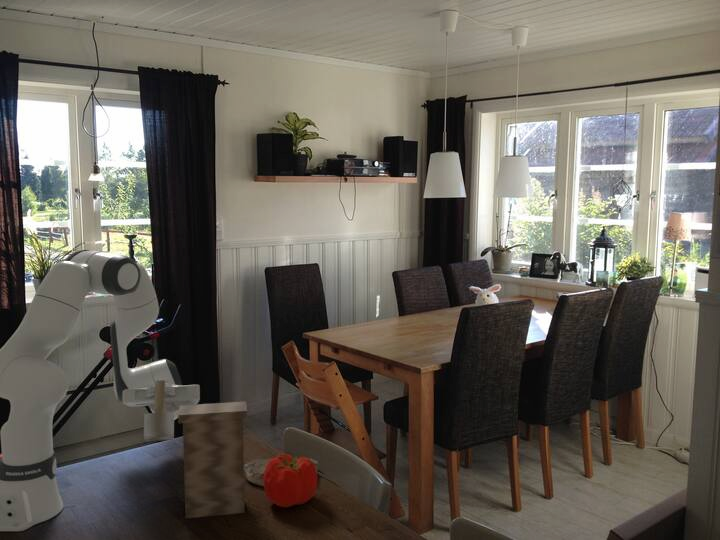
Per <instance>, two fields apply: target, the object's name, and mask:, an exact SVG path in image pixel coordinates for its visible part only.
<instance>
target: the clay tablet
mask: <svg viewBox="0 0 720 540" xmlns="http://www.w3.org/2000/svg"><path fill="white" fill-rule="evenodd" d="M292 458H293V459H294V458H295V457H292ZM271 459H272V458H265V459H264V458H258V459H254V460H250V461H249V462H247V463H244V474H245V477H246V479H247V481H248V482H250V483H252V484H255V485H258V486H259V487H264V485H263V476H264V472H265V469H266V466H267V464H268V462H269V461H270V460H271ZM298 459H299V458H296V460H298ZM309 459H310V460H311V461H312V462H313V463H314V465H315V467H316V470H317V472H318V470H319V467H318V466H319V461H318V460H316V459H313V458H309Z"/></svg>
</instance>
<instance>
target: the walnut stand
mask: <svg viewBox="0 0 720 540" xmlns="http://www.w3.org/2000/svg"><path fill="white" fill-rule="evenodd" d="M247 405H248V404H247V401H231V402H229V401H228V402H216V403H201V404H200V403H199V404H198V403H197V404H196V405H180V407H179V412H178V418H177V423H178V424H182V436H183V438H182V439H183V440H182V442H183V443H182V444H183V447H182V449H183V471H184V474H183V475H184V476H183V477H184V480H183V481H184V504H185V505H184V507H185V508H184V510H185V519H193V518H202V517H204V518H205V517H215V516H223V515H224V516H225V515H236V514H244V513H246V512H245V509H246V508H245V506H246V505H245V502H246V501H245V472H244V465H245V460H244V458H245V457H244V456H245V455H244V453H245V452H244V447H245V446H244V420H248V407H247Z"/></svg>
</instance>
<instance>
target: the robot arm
mask: <svg viewBox="0 0 720 540" xmlns="http://www.w3.org/2000/svg"><path fill="white" fill-rule="evenodd" d="M91 292H93V293H95V294H102V295H112V296H113V298H114V304H115V307H116V310H117V314H116V318H115V319H114V321H113V322H112V323H111V325H110V330H109V333H110V334H109V335H110V347H111V348H110V349H111V357H112V365H113V368H112V369H113V372H114V376H113V377H114V378H113V390H114V395H115V397H116V398H117V400H118V401H119V402H121V403H122V404H123V405H125V406H128V407H145V406H146V407H147V406H148V407H149V409H150V411H151V413H154V410H155V381H159V380H165V386H164V389H165V390H164V393H165V412H173V415H174V421H175V420H178V412H179V407H180V405H196V404H198V403H199V402H200V399H201V398H200V397H201V394H200V393H201V389H200V387H201V386H200V384H188V385H187V384H186V385H183V382H182V379H181V375H180V373H179V371H178V368H177V366H176V364H175V363H174V362H173V361H171V360H169V359H167V358H163V359H158V360H156V361H153V362H150V363H147V364H144V365H139V366H136V367H132V368H130V367H129V366H128V365H129V364H128V356H127V355H128V354H127V347H128V345H129V344H130V342H131V341H133V340H134V339H135V338H137V336H139V335H141V334H142V333H143V332H145V331H147V330H148V329H149V328H151V326H153V324H154V323H155V322H156V320H157V319H158V316H159V314H160V307H159V301H158V297H157V293H156V290H155V286H154V284H153V281H152V279H151V277H150V276H149V273H148V271H147V269H146V268H145V266H143V264H141V263H139V262H136V261H135V260H134V259H132V258H131V257H128V256H126V255H125V254H116V253H113V252H108V251H103V250H89V249H82V250H76V251H74V252H72V253H70V254H69V255H68V256H67V257H66V258H65V259H64V260H61V261H59V262H56V263H54V265H52V266H51V268H50V269H49V270H48V272H47V273H46V275H45V276H44V278H43V280H42V281H41V283H40V284H39V286H38V288H37V290H36V292H35V294H34V296H33V298H32V300H31V303H30V305H29V307H28V308H27V311H26V313H25V315H24V317H23V318H22V321H21V323H20V324H19V326H18V327H17V329H16V330H15V331H14V333H13V334H12V335H11V336H10V338H8V340H7V341H6V343H5V344H4V345H3V346H2V347H1V348H0V398H1V399H5V400H8V401H9V404H10V412H9V416H8V420H7V421H6V422H5V423H4V424H3V425H2V426H1V428H0V447H1V453H0V532H23V531H25V530H27V529H30V528H31V527H33V526H35V525H37V524H40V523H42V522H46V521H48V520H50V519H51V518H53V517H55V516H57V515H58V514H59V513H60V512H61V511H62V510H63V509H64V502H63V500H62V497H61V494H60V491H59V487H58V483H57V478H56V475H57V472H58V471H57V467H58V466H57V458H56V453H55V451H54V443H53V420H54V415H55V411H56V408H57V405H58V404H59V403H60V402H61V401H63V399H64V398H65V396H66V395H67V393H68V390H69V386H70V384H69V383H70V380H69V376H68V374H67V372H66V370H64V368H62V367H60V365H57V364H56V363H54V362H52V361H50V360H47V358H48V357H49V356H50V355H51V354H52V352H54V350H55V349H57V348H58V347H60V346H62V345H64V344H65V342H66V341H68V339H69V337H70V335H71V333H72V331H73V328H74V326H75V324H76V321H77V319H78V317H79V315H80V312H81V310H82V307H83V305H84V303H85V300H86V296H88V294H89V293H91Z"/></svg>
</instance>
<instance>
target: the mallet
mask: <svg viewBox="0 0 720 540" xmlns="http://www.w3.org/2000/svg"><path fill="white" fill-rule="evenodd" d="M164 386H165V380H159V381H155V410H154V413H152V412H151V413H144V417H143V418H144V420H143V422H144V423H143V438H144V441H145V442H157V441H172V440H173V441H174V440H175V439H174V438H175V420H174V415H173V412H165V393H164V390H165V389H164Z"/></svg>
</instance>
